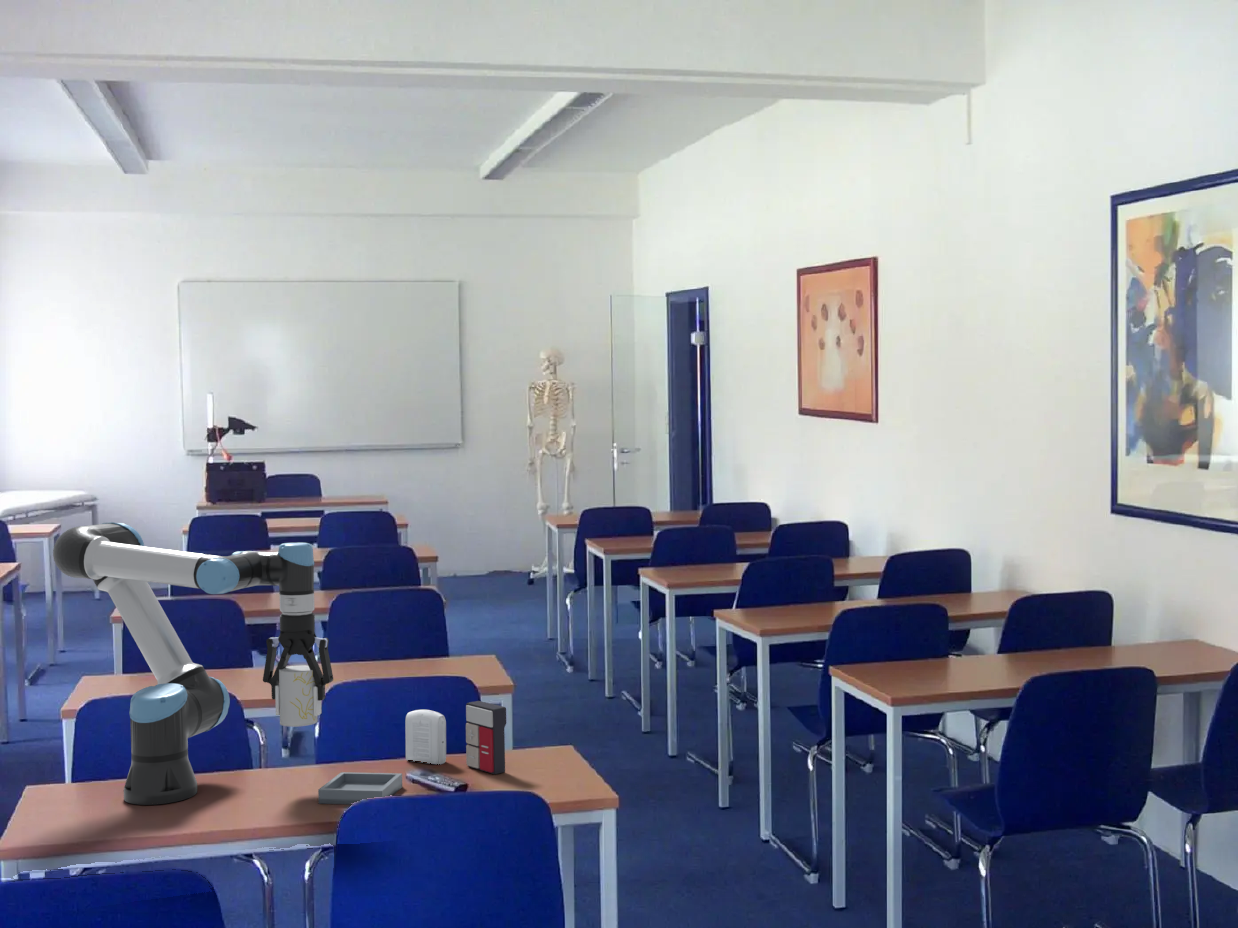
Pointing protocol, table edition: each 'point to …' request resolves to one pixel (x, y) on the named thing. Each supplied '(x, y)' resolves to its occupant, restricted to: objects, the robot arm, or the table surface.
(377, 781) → the tray
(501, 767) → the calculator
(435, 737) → the white rounded block
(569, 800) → the table surface
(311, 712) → the cup
